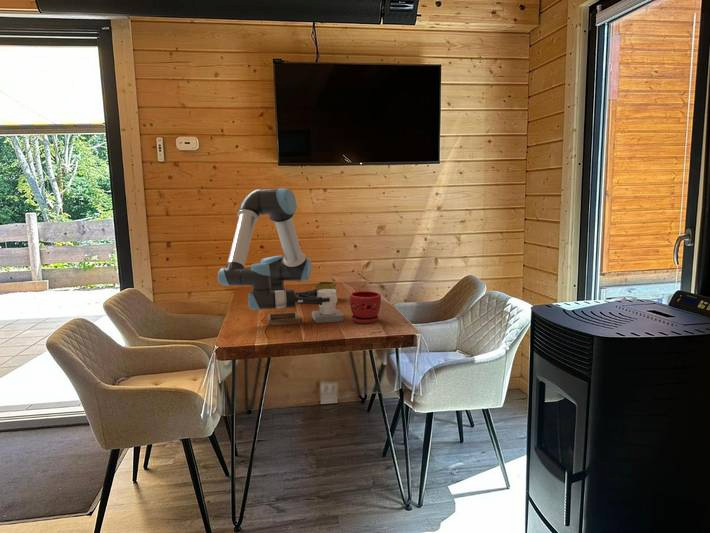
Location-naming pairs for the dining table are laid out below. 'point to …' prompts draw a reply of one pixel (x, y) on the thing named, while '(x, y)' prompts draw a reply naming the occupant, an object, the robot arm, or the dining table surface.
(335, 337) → the dining table surface
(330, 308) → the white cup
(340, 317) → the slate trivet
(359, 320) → the plant pot
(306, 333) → the dining table surface
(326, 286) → the flower pot
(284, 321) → the walnut frame
